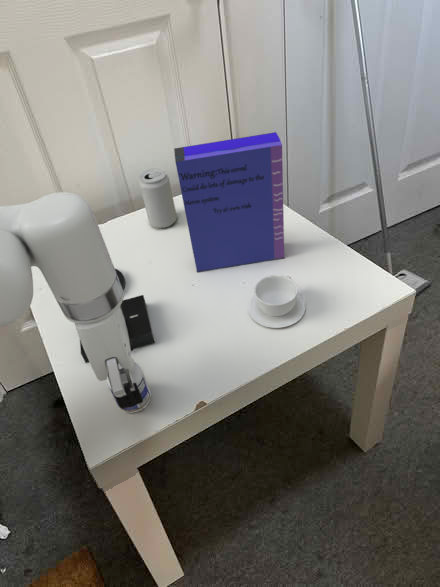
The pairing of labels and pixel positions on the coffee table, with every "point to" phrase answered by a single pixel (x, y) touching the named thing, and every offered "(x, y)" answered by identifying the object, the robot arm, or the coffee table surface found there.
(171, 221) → the beverage can
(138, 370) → the pill bottle
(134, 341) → the black angular base
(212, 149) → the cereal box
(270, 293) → the teacup
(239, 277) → the coffee table surface
